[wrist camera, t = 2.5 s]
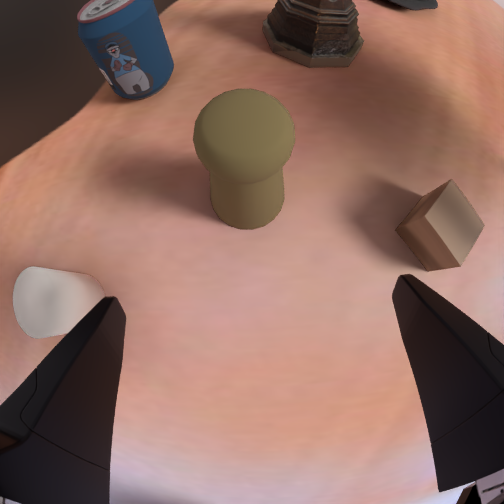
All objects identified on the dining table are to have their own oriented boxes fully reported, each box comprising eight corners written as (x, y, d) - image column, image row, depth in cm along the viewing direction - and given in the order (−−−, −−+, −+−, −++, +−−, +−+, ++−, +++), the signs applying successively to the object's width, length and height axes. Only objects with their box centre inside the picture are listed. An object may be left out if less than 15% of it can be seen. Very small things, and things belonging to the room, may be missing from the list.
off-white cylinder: (73, 335, 21) (23, 345, 14) (57, 284, 22) (7, 280, 15) (113, 320, 22) (66, 328, 15) (96, 265, 22) (47, 255, 15)
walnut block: (427, 271, 22) (460, 266, 17) (394, 230, 23) (424, 216, 18) (452, 235, 22) (484, 225, 18) (422, 196, 23) (451, 178, 18)
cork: (214, 235, 22) (181, 184, 12) (207, 166, 23) (177, 82, 12) (290, 224, 23) (322, 166, 12) (277, 156, 23) (293, 68, 12)
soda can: (157, 52, 25) (129, -24, 14) (188, 77, 25) (163, -13, 13) (108, 86, 25) (63, 15, 13) (133, 115, 24) (81, 34, 12)
